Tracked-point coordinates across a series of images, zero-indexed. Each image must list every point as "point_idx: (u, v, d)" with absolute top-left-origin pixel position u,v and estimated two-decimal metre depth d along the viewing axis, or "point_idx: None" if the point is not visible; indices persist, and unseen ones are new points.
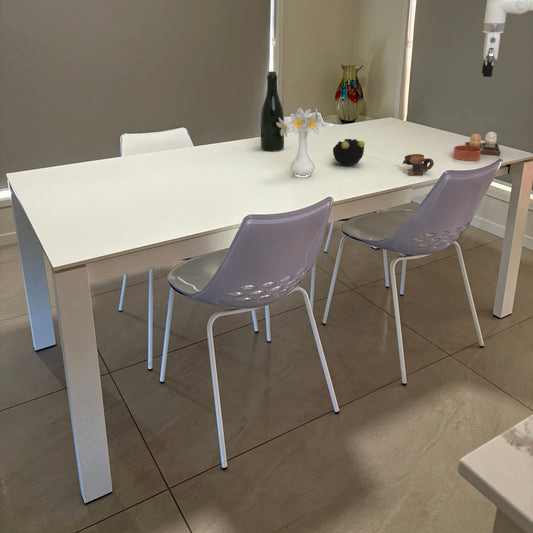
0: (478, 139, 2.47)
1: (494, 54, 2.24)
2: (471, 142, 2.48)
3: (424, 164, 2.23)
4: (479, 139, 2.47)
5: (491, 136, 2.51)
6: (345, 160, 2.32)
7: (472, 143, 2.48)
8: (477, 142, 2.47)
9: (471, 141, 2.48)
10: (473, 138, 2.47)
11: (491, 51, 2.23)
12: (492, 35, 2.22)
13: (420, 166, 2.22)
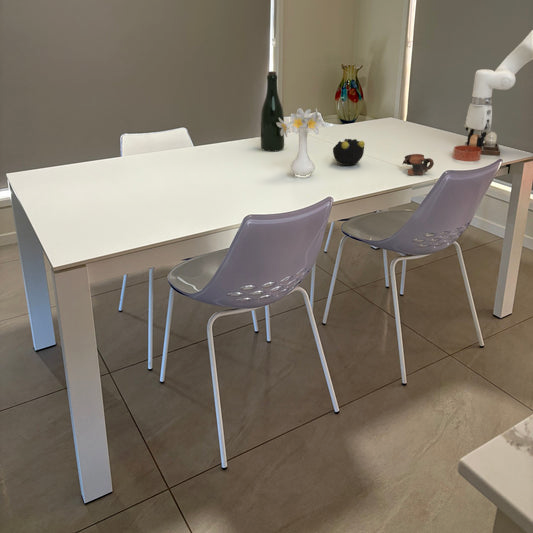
0: None
1: (489, 124, 2.42)
2: (471, 142, 2.48)
3: (424, 164, 2.23)
4: None
5: (491, 136, 2.51)
6: (345, 160, 2.32)
7: (472, 143, 2.48)
8: None
9: (471, 141, 2.48)
10: (473, 138, 2.47)
11: (489, 125, 2.41)
12: (488, 108, 2.39)
13: (420, 166, 2.22)
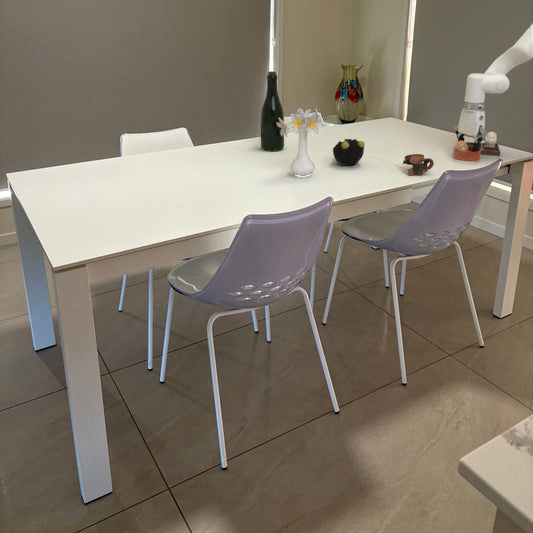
0: (463, 146, 2.39)
1: None
2: None
3: (424, 164, 2.23)
4: (464, 145, 2.39)
5: (491, 136, 2.51)
6: (345, 160, 2.32)
7: None
8: (463, 149, 2.39)
9: None
10: (457, 147, 2.40)
11: (483, 129, 2.33)
12: (481, 113, 2.31)
13: (420, 166, 2.22)
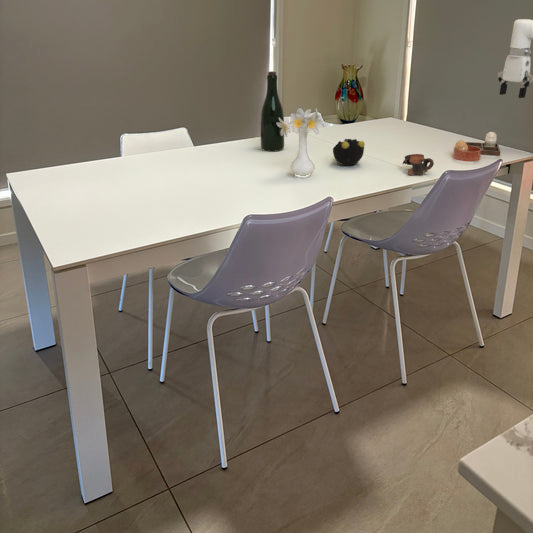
0: (463, 146, 2.39)
1: None
2: None
3: (424, 164, 2.23)
4: (464, 145, 2.39)
5: (491, 136, 2.51)
6: (345, 160, 2.32)
7: None
8: (463, 149, 2.39)
9: None
10: (457, 147, 2.40)
11: (529, 74, 2.35)
12: (527, 59, 2.34)
13: (420, 166, 2.22)
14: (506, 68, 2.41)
